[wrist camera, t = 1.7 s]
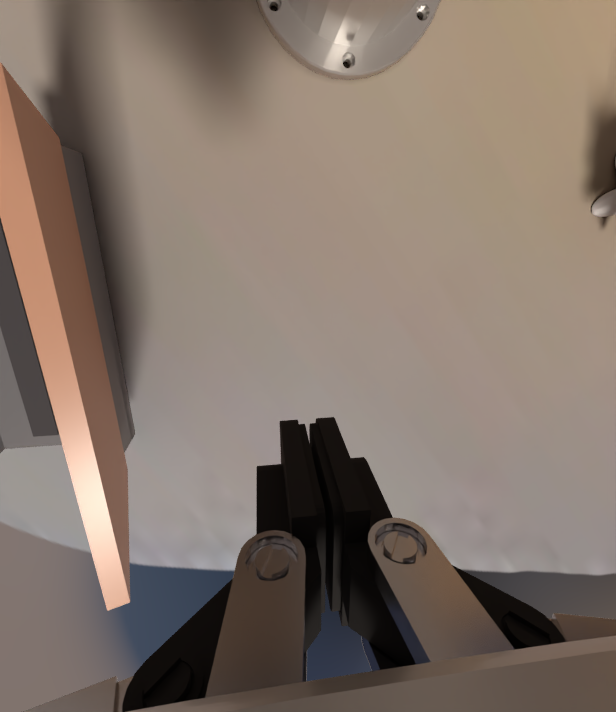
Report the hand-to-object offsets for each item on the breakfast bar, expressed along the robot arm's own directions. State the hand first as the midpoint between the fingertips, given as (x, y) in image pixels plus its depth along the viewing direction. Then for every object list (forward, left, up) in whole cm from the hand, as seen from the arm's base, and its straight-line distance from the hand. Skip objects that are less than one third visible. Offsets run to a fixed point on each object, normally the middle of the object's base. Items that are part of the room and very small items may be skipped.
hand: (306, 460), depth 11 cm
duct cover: (0, -11, -10) cm, 15 cm away
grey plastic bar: (0, -18, -21) cm, 27 cm away
